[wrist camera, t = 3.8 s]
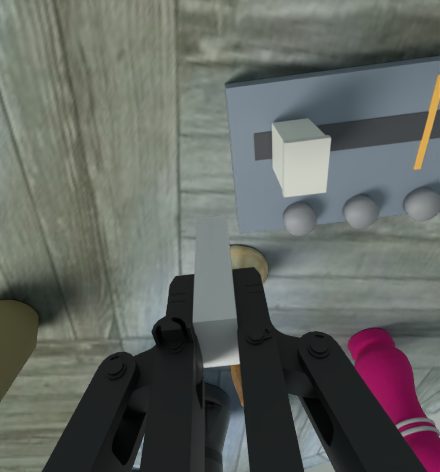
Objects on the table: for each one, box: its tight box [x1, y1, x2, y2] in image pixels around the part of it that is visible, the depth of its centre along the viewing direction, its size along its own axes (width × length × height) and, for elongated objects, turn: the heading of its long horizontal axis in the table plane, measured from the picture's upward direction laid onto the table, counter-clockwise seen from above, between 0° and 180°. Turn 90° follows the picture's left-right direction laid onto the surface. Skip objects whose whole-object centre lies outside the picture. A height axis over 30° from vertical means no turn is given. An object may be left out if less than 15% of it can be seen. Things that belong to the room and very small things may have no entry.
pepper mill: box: [348, 328, 440, 472], centre depth 39 cm, size 7×7×20 cm
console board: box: [225, 56, 440, 235], centre depth 28 cm, size 24×14×4 cm, turn 96°
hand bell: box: [230, 245, 268, 407], centre depth 32 cm, size 8×8×16 cm
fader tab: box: [272, 118, 331, 197], centre depth 25 cm, size 3×4×5 cm
